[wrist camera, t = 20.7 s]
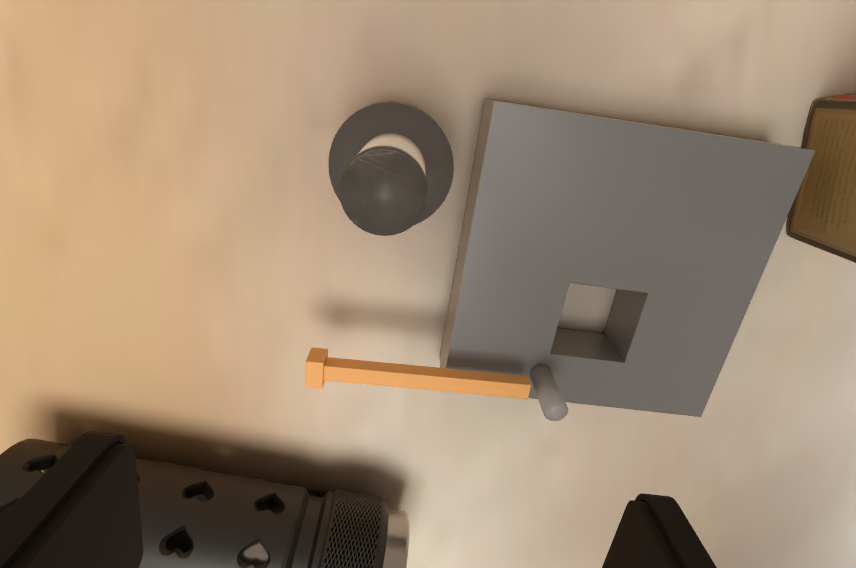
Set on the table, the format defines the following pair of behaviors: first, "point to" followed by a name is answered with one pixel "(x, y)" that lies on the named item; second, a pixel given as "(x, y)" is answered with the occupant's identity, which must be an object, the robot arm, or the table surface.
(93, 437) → the robot arm
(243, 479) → the muzzle brake
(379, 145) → the plug
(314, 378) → the orange peg
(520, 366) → the plate
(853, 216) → the food packaging
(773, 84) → the table surface
